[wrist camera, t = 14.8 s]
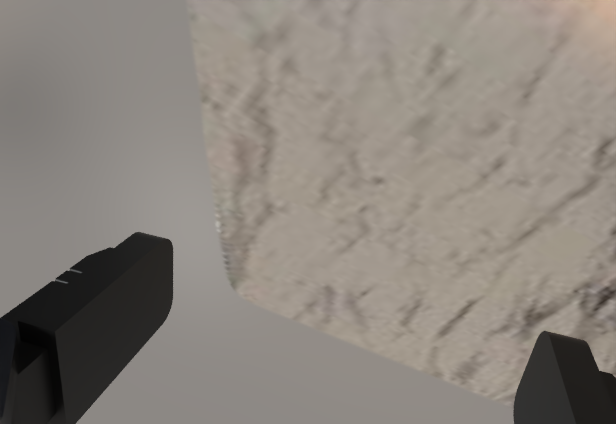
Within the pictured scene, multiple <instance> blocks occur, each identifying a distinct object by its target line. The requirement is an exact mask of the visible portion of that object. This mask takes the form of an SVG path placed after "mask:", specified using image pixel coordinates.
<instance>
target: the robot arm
mask: <svg viewBox="0 0 616 424" xmlns="http://www.w3.org/2000/svg"><path fill="white" fill-rule="evenodd" d="M172 300H173V246H172V242H171V241H170V240H169V239H165V238H162V237H157V236H153V235H149V234H145V233H141V232H136V233H134V234H132V235H131V236H130V237H128V238H127V239H126V240H124V241H123V242H122V243H120V244H119V245H118V246H116V247H115V248H107V249H105V250H102V251H99V252H96V253H94V254H91V255H88V256H86V257H85V258H84V259H82V260H81V261H80V262H78V263H77V264H75V265H74V266H73V267H71V268H70V271H65V272H64V273H63V274H61V275H60V276H59V277H57V278H56V280H55V282H54V281H52V282H50V283H49V284H47V285H46V286H45V287H43V288H42V289H40V290H39V291H38V292H36V293H35V294H33V295H32V296H31V297H29V298H28V299H26V300H25V301H24V302H22V303H21V304H19V305H18V306H17V307H15V308H14V309H12V310H11V311H10V312H9V313H7V314H5V315H4V316H3V317H1V318H0V424H76V422H77V421H78V420H79V419H80V418H81V417H82V416H83V415H84V413H85V412H86V411H87V410H88V409H89V408H90V407H91V405H92V404H93V403H94V402H95V401H96V400H97V398H98V397H99V396H100V395H101V394H102V393H103V391H104V390H105V389H106V388H107V387H108V386H109V384H111V382H112V381H113V380H114V379H115V378H116V377H117V376H118V374H119V373H120V372H121V371H122V370H123V369H124V368H125V366H126V365H127V364H128V363H129V362H130V361H131V360H132V358H133V357H134V356H135V355H136V354H137V353H138V352H139V350H140V349H141V348H142V347H143V346H144V345H145V344H146V342H147V341H148V340H149V339H150V338H151V337H152V336H153V334H154V333H155V332H156V331H157V330H158V329H159V328H160V326H161V325H162V324H163V323H164V321H165V320H166V318H167V316H168V314H169V312H170V309H171V305H172ZM514 424H616V378H615V377H614V376H613V375H612V374H610V373H606V372H602V371H599V369H598V367H597V364H596V362H595V360H594V357H593V355H592V352H591V350H590V347H589V345H588V343H587V342H586V341H584V340H580V339H576V338H572V337H568V336H564V335H560V334H556V333H551V332H547V331H543V332H542V333H541V334H540V335H539V337H538V339H537V341H536V343H535V346H534V348H533V351H532V353H531V356H530V358H529V361H528V364H527V366H526V369H525V371H524V374H523V376H522V379H521V381H520V384H519V386H518V389H517V392H516V396H515V402H514Z"/></svg>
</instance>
